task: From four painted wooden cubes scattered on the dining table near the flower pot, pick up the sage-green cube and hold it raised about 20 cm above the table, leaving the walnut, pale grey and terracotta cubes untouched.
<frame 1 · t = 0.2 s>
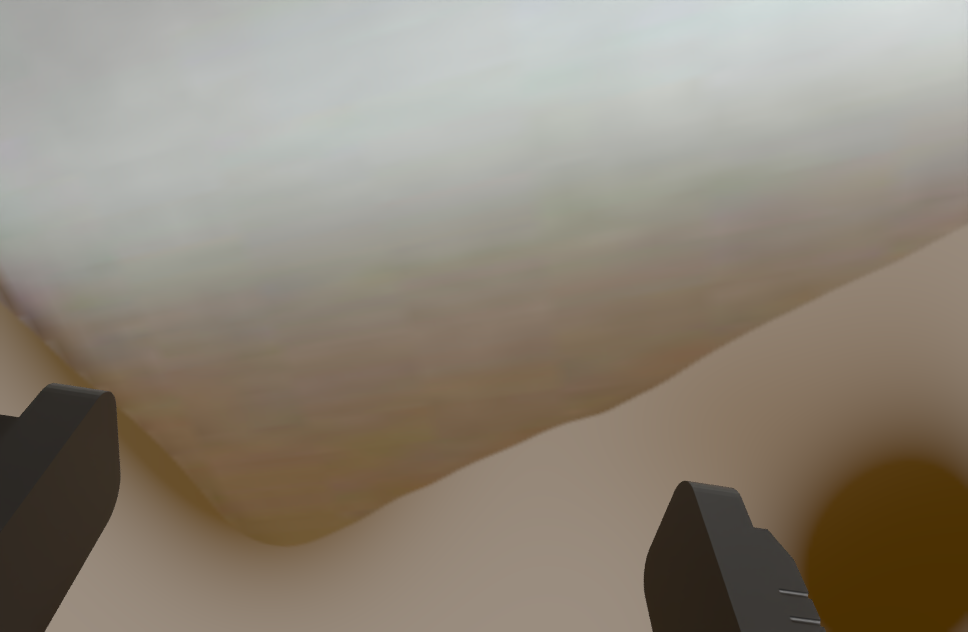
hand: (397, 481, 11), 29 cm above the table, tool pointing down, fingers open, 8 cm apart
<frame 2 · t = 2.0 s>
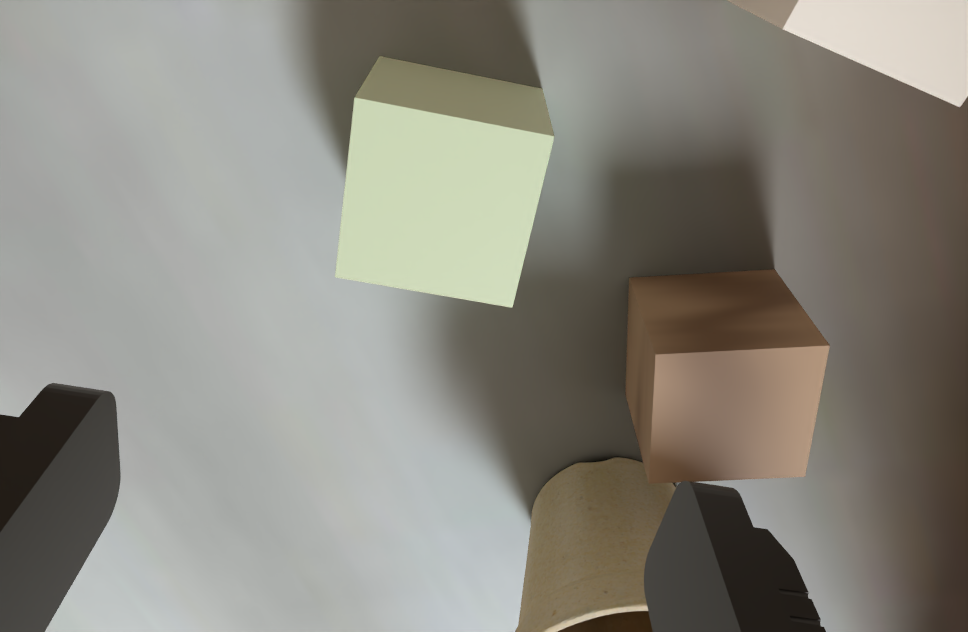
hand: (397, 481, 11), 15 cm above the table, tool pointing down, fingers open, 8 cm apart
flower pot: (602, 506, 32), on the table
walnut cube: (695, 333, 28), on the table
sage cube: (447, 150, 24), on the table
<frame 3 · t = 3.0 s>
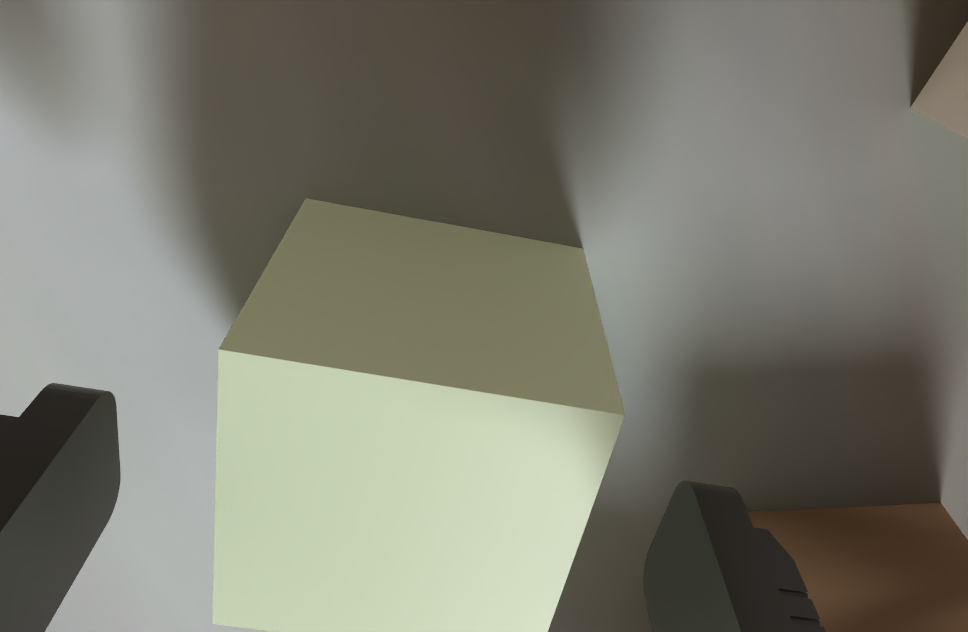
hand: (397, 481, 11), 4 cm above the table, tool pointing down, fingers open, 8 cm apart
walnut cube: (807, 582, 18), on the table
sage cube: (425, 338, 15), on the table
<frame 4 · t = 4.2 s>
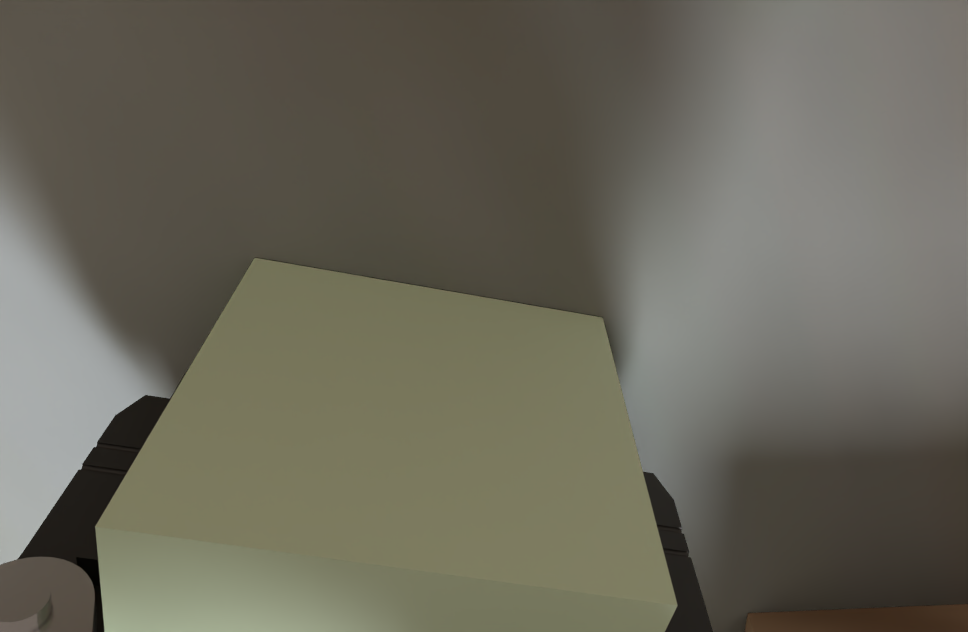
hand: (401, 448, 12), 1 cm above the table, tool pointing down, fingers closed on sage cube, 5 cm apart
sage cube: (407, 424, 12), on the table, touching gripper
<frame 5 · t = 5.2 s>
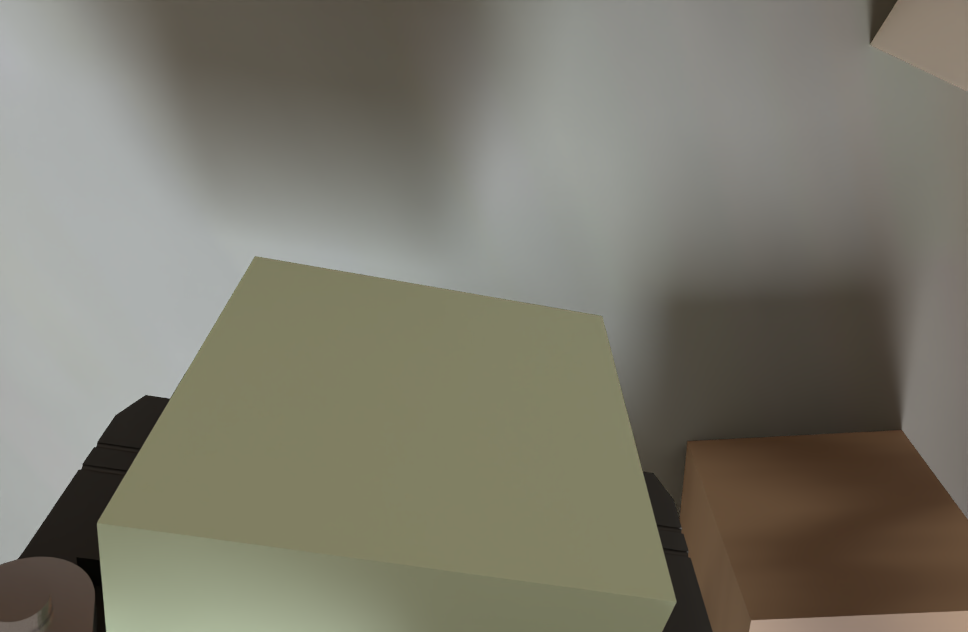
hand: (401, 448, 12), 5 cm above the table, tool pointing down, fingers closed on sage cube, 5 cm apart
walnut cube: (778, 509, 19), on the table
sage cube: (407, 422, 12), point 4 cm above the table, touching gripper
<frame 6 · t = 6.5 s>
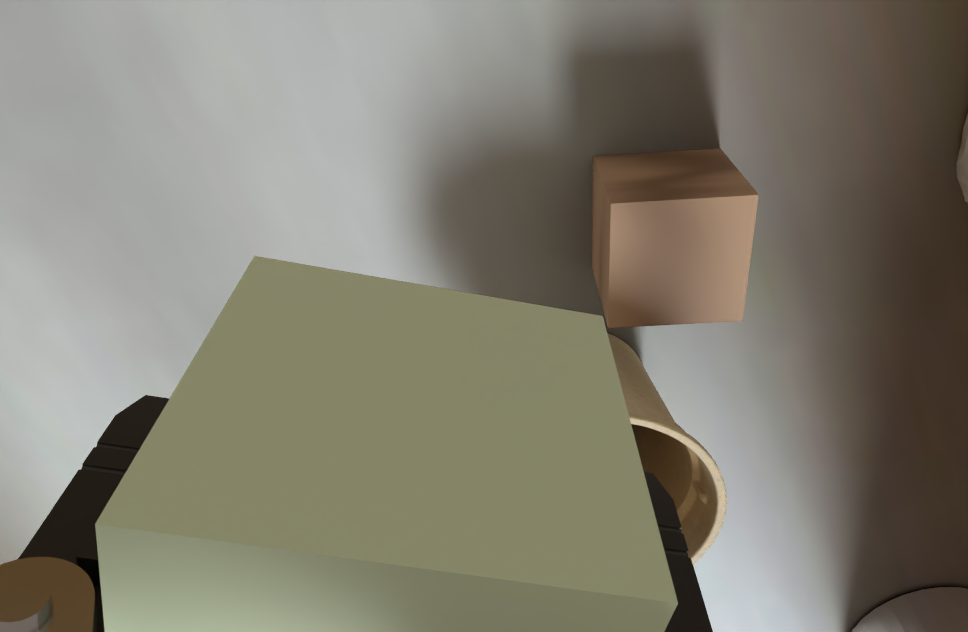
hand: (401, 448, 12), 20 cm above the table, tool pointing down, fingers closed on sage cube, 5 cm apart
flower pot: (574, 379, 36), on the table
walnut cube: (652, 210, 31), on the table
sage cube: (407, 423, 12), point 20 cm above the table, touching gripper
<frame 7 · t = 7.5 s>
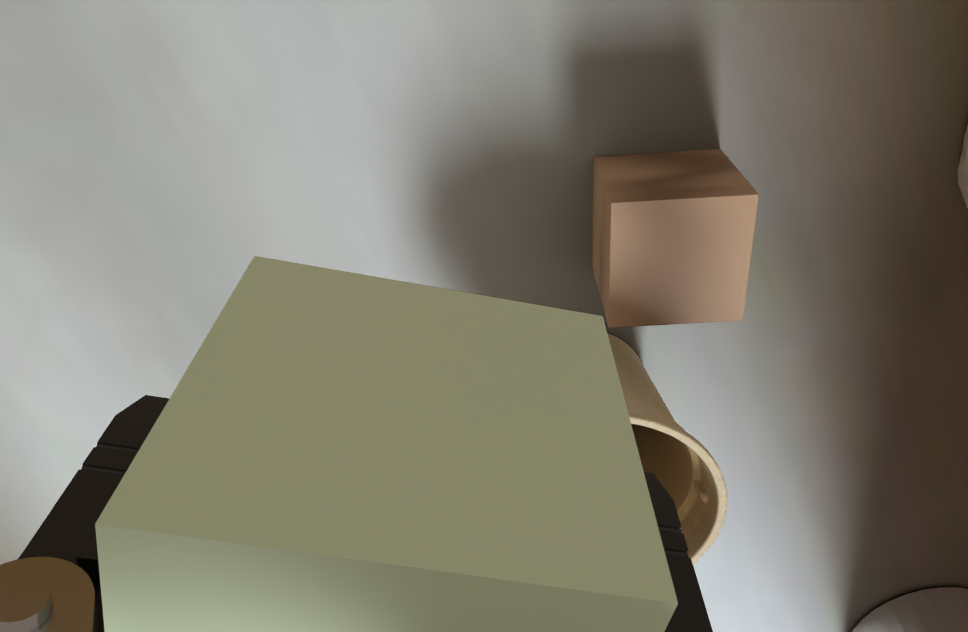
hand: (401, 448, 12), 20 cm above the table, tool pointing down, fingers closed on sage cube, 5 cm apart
flower pot: (574, 379, 36), on the table
walnut cube: (653, 210, 31), on the table
sage cube: (407, 423, 12), point 20 cm above the table, touching gripper
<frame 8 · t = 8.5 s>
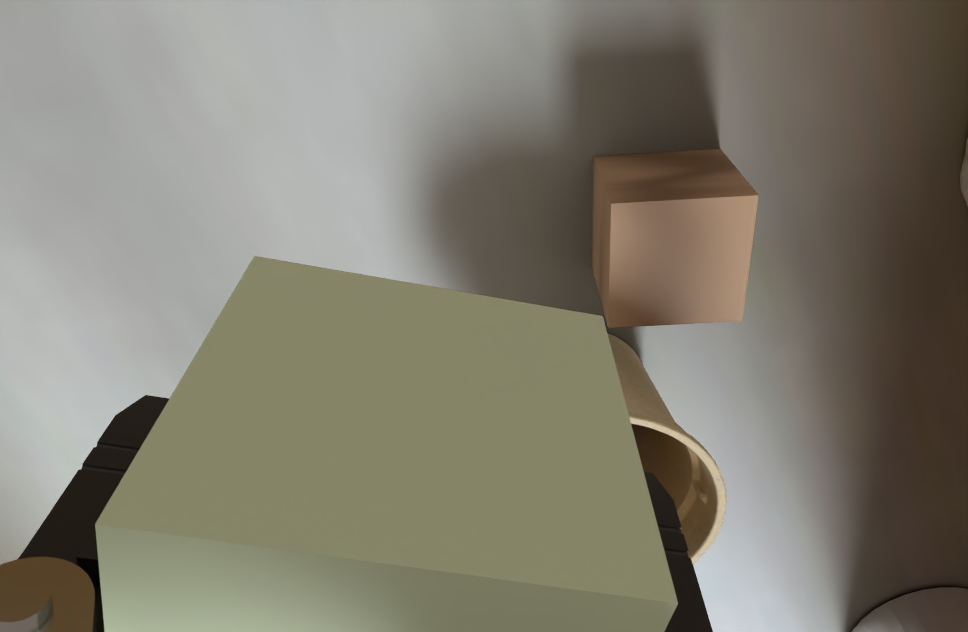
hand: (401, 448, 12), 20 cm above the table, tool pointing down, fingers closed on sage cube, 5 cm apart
flower pot: (574, 379, 36), on the table
walnut cube: (653, 210, 31), on the table
sage cube: (407, 423, 12), point 20 cm above the table, touching gripper
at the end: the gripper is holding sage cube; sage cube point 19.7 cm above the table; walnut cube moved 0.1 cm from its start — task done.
